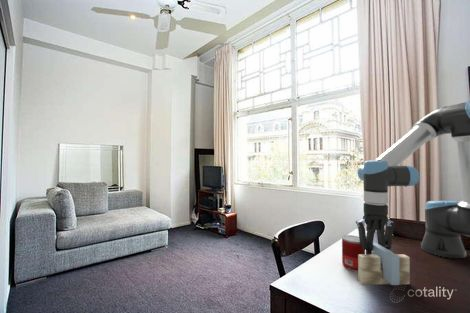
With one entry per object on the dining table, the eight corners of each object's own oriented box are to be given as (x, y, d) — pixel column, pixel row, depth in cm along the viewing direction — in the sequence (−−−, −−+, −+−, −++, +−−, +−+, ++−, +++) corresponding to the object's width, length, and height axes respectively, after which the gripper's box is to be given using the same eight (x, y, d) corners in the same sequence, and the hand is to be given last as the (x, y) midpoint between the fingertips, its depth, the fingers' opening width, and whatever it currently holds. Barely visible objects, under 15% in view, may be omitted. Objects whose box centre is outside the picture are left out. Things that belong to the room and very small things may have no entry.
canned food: (368, 272, 85) (368, 242, 85) (345, 270, 86) (345, 241, 87) (361, 262, 92) (361, 235, 92) (340, 261, 94) (340, 234, 94)
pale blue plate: (369, 266, 84) (369, 242, 84) (375, 266, 84) (375, 242, 84) (391, 284, 72) (391, 256, 72) (399, 285, 72) (399, 256, 72)
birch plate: (404, 280, 79) (404, 254, 79) (409, 284, 77) (409, 257, 77) (358, 280, 79) (358, 254, 79) (362, 284, 77) (362, 257, 77)
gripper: (389, 201, 86) (389, 263, 86) (348, 201, 86) (348, 263, 86) (404, 205, 79) (404, 273, 78) (359, 205, 79) (359, 273, 78)
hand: (375, 268), depth 82 cm, fingers closed on pale blue plate, 2 cm apart
